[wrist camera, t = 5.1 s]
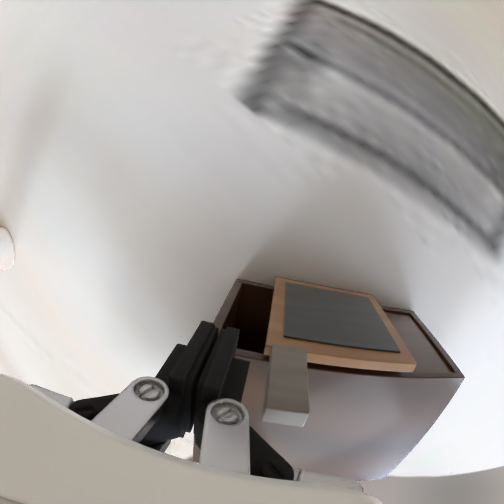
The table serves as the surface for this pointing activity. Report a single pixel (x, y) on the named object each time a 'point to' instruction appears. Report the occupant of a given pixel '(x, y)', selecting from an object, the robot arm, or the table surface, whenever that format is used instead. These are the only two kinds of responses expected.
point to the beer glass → (6, 250)
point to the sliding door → (322, 343)
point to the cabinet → (344, 395)
